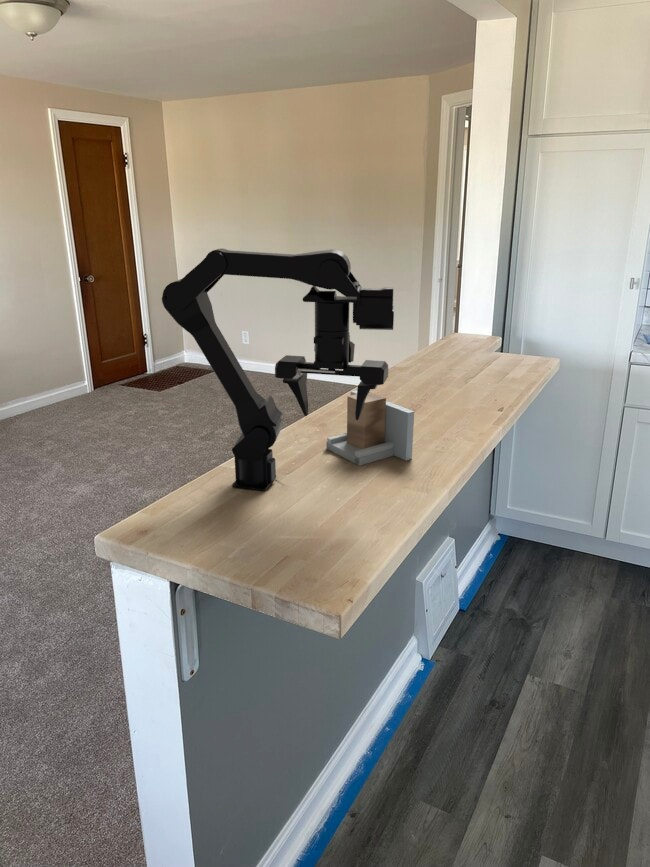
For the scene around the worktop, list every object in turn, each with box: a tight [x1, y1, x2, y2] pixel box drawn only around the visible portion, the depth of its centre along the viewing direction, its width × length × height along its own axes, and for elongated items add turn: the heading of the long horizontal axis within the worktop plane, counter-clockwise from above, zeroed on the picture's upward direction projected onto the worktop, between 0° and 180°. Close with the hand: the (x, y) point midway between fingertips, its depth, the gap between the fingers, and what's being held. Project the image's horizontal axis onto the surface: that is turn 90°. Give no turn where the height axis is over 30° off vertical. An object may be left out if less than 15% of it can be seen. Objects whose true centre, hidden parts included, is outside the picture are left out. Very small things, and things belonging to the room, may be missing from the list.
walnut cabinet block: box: [346, 391, 387, 449], centre depth 130 cm, size 6×6×10 cm
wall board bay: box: [325, 389, 415, 467], centre depth 131 cm, size 11×18×10 cm, turn 36°
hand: (331, 417), depth 112 cm, fingers open, 9 cm apart
